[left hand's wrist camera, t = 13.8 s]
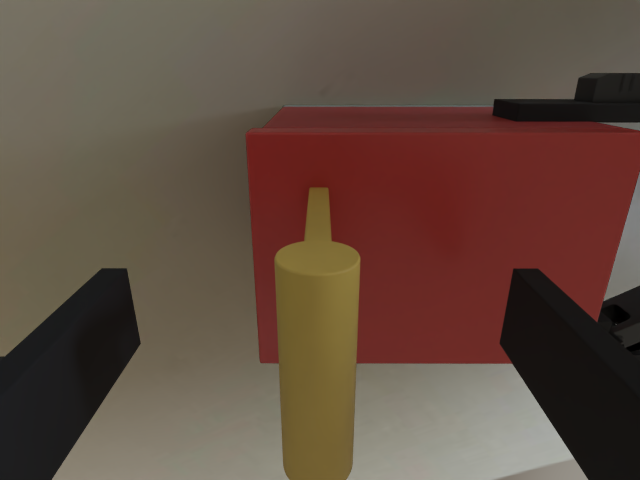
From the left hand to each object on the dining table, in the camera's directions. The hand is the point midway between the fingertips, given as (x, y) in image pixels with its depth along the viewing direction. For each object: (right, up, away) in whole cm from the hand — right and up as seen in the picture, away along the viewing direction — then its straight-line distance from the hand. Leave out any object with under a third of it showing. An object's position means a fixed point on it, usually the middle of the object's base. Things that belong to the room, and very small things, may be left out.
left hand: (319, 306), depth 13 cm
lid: (+4, +2, +4) cm, 7 cm away
